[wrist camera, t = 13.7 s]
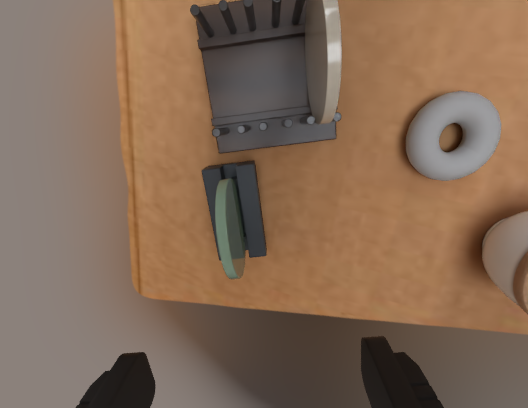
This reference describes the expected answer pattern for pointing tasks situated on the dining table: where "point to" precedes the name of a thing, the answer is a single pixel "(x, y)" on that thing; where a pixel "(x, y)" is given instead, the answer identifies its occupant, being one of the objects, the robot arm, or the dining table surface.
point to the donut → (473, 142)
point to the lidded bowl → (508, 257)
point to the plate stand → (249, 200)
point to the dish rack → (258, 74)
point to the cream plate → (323, 58)
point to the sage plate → (230, 228)
